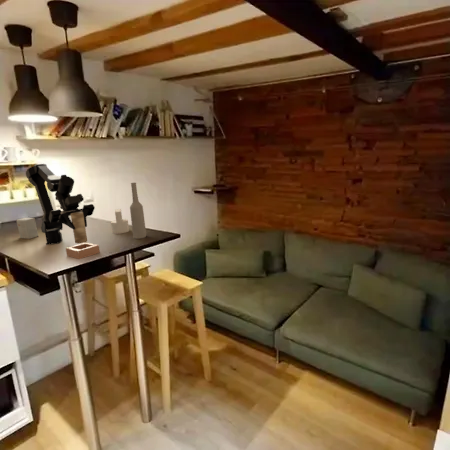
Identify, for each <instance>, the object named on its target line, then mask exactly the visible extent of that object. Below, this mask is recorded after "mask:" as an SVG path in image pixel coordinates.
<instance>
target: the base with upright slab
mask: <svg viewBox="0 0 450 450" xmlns="http://www.w3.org/2000/svg"><path fill="white" fill-rule="evenodd" d="M114 215H115V220H112V221H110V224H111V225H110V226H111V232H112V234H114V235H115V234H116V235H117V234H118V235H119V234H125V233H128V232H130V228H129V227H130V226H129V220H128V219H126V218H123V215H122V208H118V209H117V208H116V209H114Z"/></svg>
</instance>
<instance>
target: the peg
mask: <svg viewBox="0 0 450 450" xmlns="http://www.w3.org/2000/svg"><path fill="white" fill-rule="evenodd" d="M70 220H71V222H72V223H73V225H74V227H75V230H73V229H72V230H73V237H74V243H75V244H82V243H85V242H88V237H87V230H86V229H87V228H86V227H85V222H84V215H83V212H74V213H71V216H70Z"/></svg>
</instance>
